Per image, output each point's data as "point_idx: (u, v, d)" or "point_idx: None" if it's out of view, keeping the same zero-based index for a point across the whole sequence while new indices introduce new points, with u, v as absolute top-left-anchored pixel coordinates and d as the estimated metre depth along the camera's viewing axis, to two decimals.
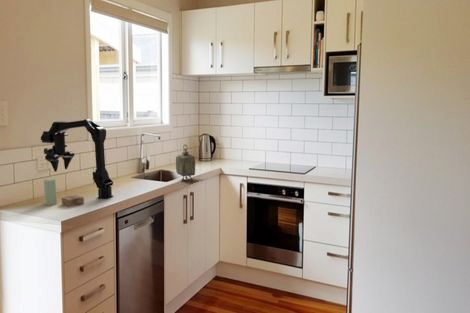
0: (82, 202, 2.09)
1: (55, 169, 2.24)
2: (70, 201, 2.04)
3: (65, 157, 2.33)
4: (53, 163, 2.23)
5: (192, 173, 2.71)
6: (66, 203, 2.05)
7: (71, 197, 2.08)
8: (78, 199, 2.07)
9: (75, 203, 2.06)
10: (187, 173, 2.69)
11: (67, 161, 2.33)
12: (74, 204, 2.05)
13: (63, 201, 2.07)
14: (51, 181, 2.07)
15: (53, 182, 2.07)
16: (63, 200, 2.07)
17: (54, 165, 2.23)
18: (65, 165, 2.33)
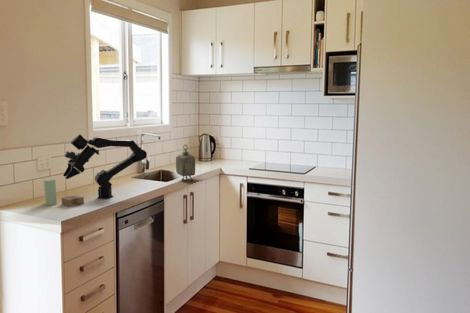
0: (82, 202, 2.09)
1: (68, 177, 2.08)
2: (70, 201, 2.04)
3: (71, 165, 2.18)
4: (72, 171, 2.08)
5: (192, 173, 2.71)
6: (66, 203, 2.05)
7: (71, 197, 2.08)
8: (78, 199, 2.07)
9: (75, 203, 2.06)
10: (187, 173, 2.69)
11: None
12: (74, 204, 2.06)
13: (63, 201, 2.07)
14: (51, 181, 2.07)
15: (53, 182, 2.07)
16: (63, 200, 2.07)
17: (72, 174, 2.08)
18: (66, 172, 2.17)
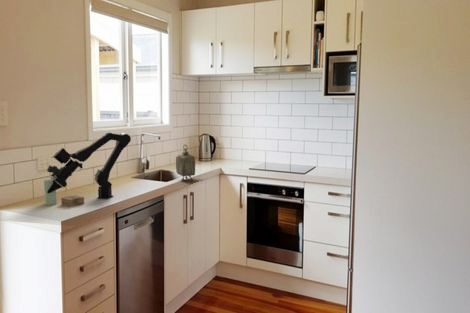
0: (82, 202, 2.09)
1: (50, 191, 2.06)
2: (71, 201, 2.04)
3: None
4: (54, 185, 2.06)
5: (192, 173, 2.71)
6: (67, 203, 2.05)
7: (71, 197, 2.08)
8: (79, 199, 2.07)
9: (76, 203, 2.06)
10: (187, 173, 2.69)
11: None
12: (75, 204, 2.06)
13: (63, 201, 2.07)
14: (51, 181, 2.07)
15: None
16: (63, 200, 2.07)
17: (53, 188, 2.06)
18: None
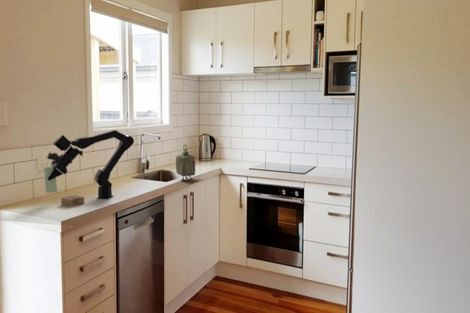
0: (82, 202, 2.09)
1: (50, 178, 2.05)
2: (71, 201, 2.04)
3: (55, 167, 2.12)
4: (54, 172, 2.05)
5: (192, 173, 2.71)
6: (67, 203, 2.05)
7: (71, 197, 2.08)
8: (79, 199, 2.08)
9: (76, 203, 2.06)
10: (187, 173, 2.69)
11: None
12: (75, 204, 2.06)
13: (63, 201, 2.07)
14: (51, 168, 2.06)
15: None
16: (63, 200, 2.07)
17: (54, 175, 2.05)
18: None
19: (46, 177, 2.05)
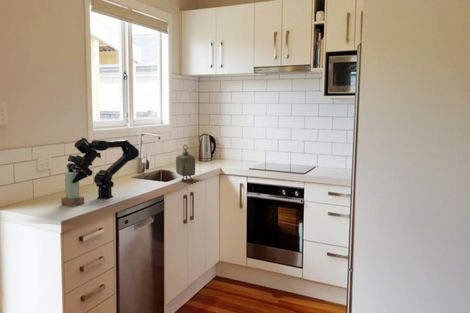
0: (83, 202, 2.10)
1: (75, 181, 2.04)
2: (72, 201, 2.04)
3: (72, 170, 2.12)
4: (79, 175, 2.05)
5: (192, 173, 2.71)
6: (67, 203, 2.05)
7: None
8: (79, 199, 2.08)
9: (77, 203, 2.06)
10: (187, 173, 2.69)
11: None
12: (76, 204, 2.06)
13: (63, 201, 2.06)
14: (75, 174, 2.06)
15: None
16: (63, 200, 2.06)
17: (78, 178, 2.05)
18: None
19: (70, 183, 2.04)
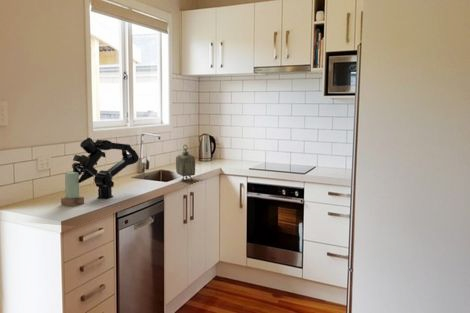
0: (82, 202, 2.10)
1: (81, 181, 2.06)
2: (72, 201, 2.04)
3: (77, 169, 2.15)
4: (85, 175, 2.07)
5: (192, 173, 2.71)
6: (67, 203, 2.05)
7: None
8: (79, 199, 2.08)
9: (76, 203, 2.06)
10: (187, 173, 2.69)
11: None
12: (75, 204, 2.06)
13: (63, 201, 2.06)
14: (75, 174, 2.06)
15: (77, 175, 2.07)
16: (63, 200, 2.06)
17: (84, 177, 2.07)
18: None
19: (70, 182, 2.05)
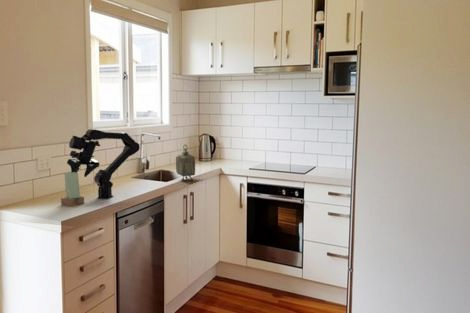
0: (83, 202, 2.10)
1: None
2: (72, 201, 2.04)
3: (89, 165, 2.22)
4: (73, 169, 2.13)
5: (192, 173, 2.71)
6: (67, 203, 2.05)
7: None
8: (79, 199, 2.08)
9: (76, 203, 2.06)
10: (187, 173, 2.69)
11: (89, 170, 2.22)
12: (76, 204, 2.06)
13: (63, 201, 2.06)
14: (74, 174, 2.05)
15: (76, 175, 2.06)
16: (63, 200, 2.06)
17: (73, 171, 2.13)
18: (85, 173, 2.22)
19: (70, 183, 2.04)
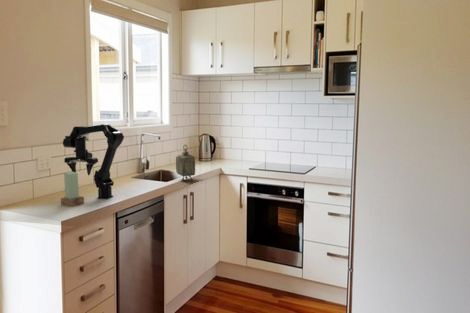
0: (82, 201, 2.10)
1: None
2: (72, 201, 2.04)
3: None
4: None
5: (192, 173, 2.71)
6: (67, 203, 2.05)
7: None
8: (79, 198, 2.08)
9: (76, 203, 2.07)
10: (187, 173, 2.69)
11: None
12: (75, 204, 2.06)
13: (63, 201, 2.06)
14: (74, 174, 2.05)
15: (75, 175, 2.06)
16: (63, 200, 2.06)
17: None
18: None
19: (69, 183, 2.04)
